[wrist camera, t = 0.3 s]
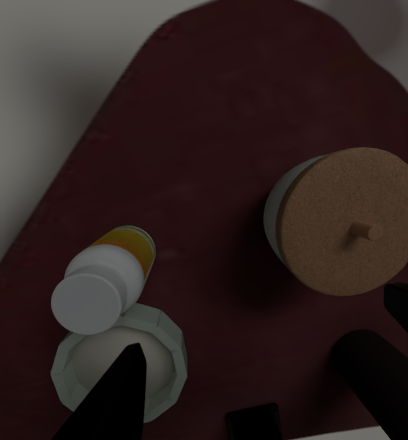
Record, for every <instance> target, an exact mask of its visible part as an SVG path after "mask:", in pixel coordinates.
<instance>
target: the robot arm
mask: <svg viewBox="0 0 408 440" xmlns="http://www.w3.org/2000/svg"><path fill="white" fill-rule="evenodd" d="M384 306H385V308H386V309H387V311H388V312H389V313H390V314H391V315H392V316H393V317H394V318H395V319H396V320H397V322H398V323H399V324H400V325H401V326H402V327H403V328H404V329H405V330H406V331H407V332H408V284H406V283H402V282H392V283H388V284H386V285H385V287H384ZM146 375H147V362H146V358H145V355H144V353H143V350H142V347H141V345H140V343H133V344H129V345H127V346H126V347H125V348H124V350H123V351H122V352H121V353H120V355H119V356H118V357H117V358H116V359H115V361H114V362H113V363H112V364H111V366H110V367H109V368H108V369H107V371H106V372H105V373H104V374H103V376H102V377H101V378H100V379H99V381H98V382H97V383H96V384H95V386H94V387H93V388H92V389H91V391H90V392H89V393H88V394H87V396H86V397H85V398H84V399H83V401H82V402H81V403H80V404H79V406H78V407H77V408H76V409H75V411H74V412H73V413H72V414H71V416H70V417H69V418H68V419H67V421H66V422H65V423H64V424H63V425H62V427H61V428H60V429H59V430H58V432H57V433H56V434H55V435H54V437H53V438H52V439H51V440H141V438H142V431H143V423H144V411H145V393H146ZM227 421H228V427H229V432H230V438H231V440H283V439H282V432H281V424H280V415H279V408H278V406H277V404H275V403H273V404H268V405H263V406H259V407H254V408H250V409H245V410H240V411H236V412H231V413H228V414H227Z"/></svg>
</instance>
